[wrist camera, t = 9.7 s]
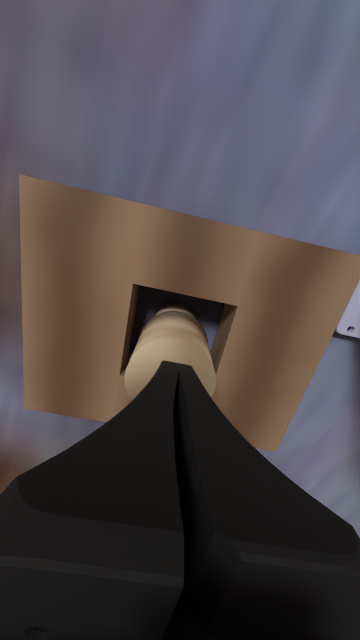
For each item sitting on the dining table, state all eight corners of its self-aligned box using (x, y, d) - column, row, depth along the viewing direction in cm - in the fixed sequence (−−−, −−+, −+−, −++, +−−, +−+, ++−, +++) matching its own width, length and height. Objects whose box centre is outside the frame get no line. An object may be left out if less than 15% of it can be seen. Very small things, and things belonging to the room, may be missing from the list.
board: (333, 254, 15) (370, 257, 12) (262, 420, 19) (276, 451, 16) (53, 188, 13) (19, 174, 11) (48, 381, 18) (24, 408, 15)
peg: (214, 323, 16) (237, 380, 10) (177, 360, 17) (174, 434, 11) (172, 286, 15) (165, 320, 9) (135, 327, 16) (104, 385, 10)
